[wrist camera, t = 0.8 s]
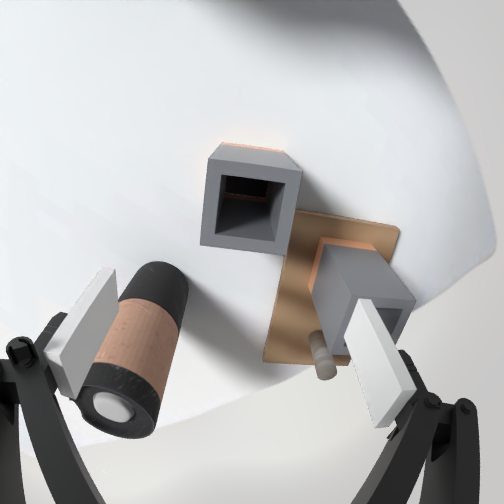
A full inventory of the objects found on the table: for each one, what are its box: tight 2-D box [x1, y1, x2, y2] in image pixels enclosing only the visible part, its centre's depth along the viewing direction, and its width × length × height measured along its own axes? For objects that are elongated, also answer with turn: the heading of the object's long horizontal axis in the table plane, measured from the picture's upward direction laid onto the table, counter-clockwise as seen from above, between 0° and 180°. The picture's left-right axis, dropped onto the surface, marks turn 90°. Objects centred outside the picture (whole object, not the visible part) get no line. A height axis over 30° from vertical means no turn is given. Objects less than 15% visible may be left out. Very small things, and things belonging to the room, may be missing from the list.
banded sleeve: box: [200, 142, 302, 256], centre depth 27 cm, size 6×6×12 cm
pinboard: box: [263, 209, 400, 380], centre depth 36 cm, size 22×13×8 cm, turn 172°
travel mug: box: [69, 261, 188, 439], centre depth 29 cm, size 8×8×20 cm
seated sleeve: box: [308, 236, 416, 355], centre depth 31 cm, size 6×6×12 cm
